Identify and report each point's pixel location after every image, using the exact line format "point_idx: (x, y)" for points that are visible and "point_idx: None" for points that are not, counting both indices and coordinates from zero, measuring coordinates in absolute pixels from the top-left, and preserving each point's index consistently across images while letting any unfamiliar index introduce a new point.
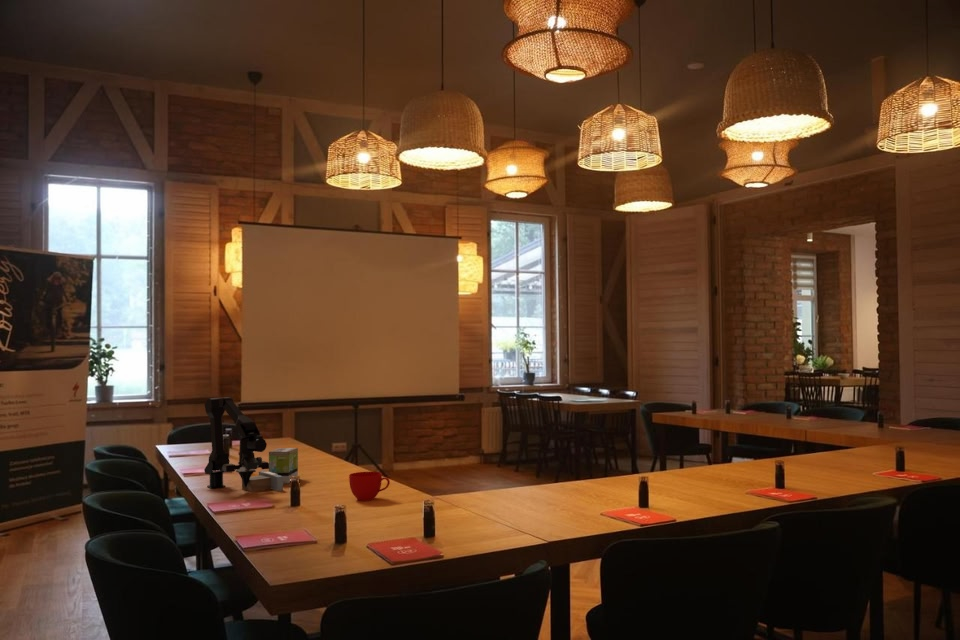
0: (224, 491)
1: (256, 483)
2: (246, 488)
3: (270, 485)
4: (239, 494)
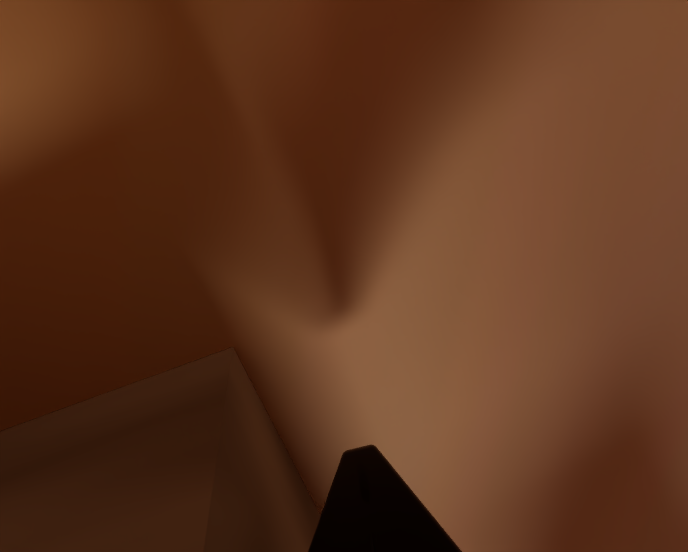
0: (628, 548)
1: (58, 529)
2: None
3: None
4: (519, 147)
